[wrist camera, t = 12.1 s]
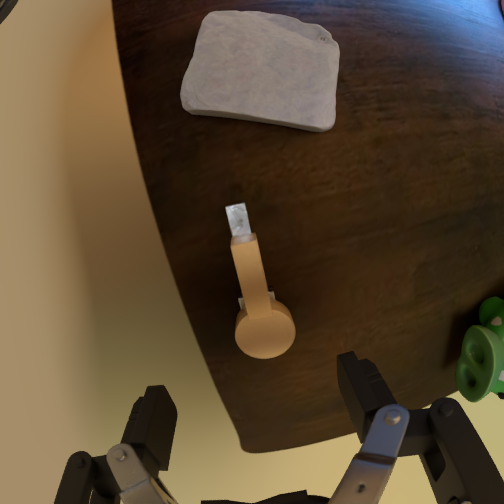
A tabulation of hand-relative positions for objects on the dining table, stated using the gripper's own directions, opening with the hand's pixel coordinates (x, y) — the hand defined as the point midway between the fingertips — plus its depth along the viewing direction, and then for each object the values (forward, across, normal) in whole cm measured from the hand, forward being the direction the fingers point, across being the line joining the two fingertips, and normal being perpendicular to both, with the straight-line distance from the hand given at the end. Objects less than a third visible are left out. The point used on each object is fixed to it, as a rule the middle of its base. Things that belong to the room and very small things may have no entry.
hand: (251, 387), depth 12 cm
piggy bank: (+14, -32, +15) cm, 38 cm away
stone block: (+15, -5, -17) cm, 23 cm away
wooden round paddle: (+13, -1, +2) cm, 13 cm away
